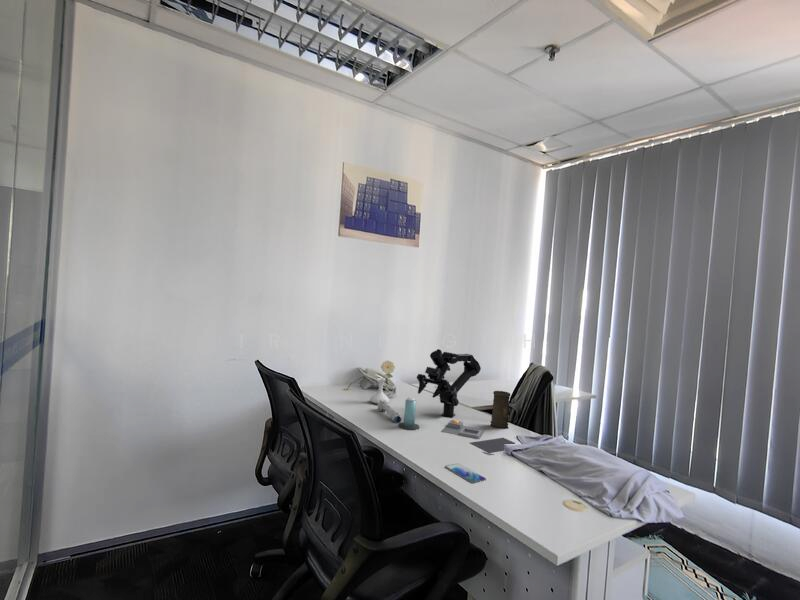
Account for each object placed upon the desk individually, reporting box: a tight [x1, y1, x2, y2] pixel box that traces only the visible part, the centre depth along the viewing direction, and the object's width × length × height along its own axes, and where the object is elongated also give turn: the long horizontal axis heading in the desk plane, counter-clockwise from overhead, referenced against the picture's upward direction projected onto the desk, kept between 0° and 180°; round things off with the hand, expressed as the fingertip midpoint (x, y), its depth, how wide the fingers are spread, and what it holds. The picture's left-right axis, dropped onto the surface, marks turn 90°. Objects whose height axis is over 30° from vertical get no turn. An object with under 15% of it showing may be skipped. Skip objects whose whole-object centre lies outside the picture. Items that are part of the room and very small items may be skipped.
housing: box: [440, 419, 486, 440], centre depth 198 cm, size 16×18×3 cm
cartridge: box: [403, 397, 417, 427], centre depth 200 cm, size 5×5×13 cm
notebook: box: [469, 437, 516, 456], centre depth 182 cm, size 13×2×21 cm
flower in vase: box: [369, 359, 396, 405], centre depth 241 cm, size 13×11×25 cm
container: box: [489, 390, 511, 430], centre depth 210 cm, size 9×9×18 cm
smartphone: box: [444, 463, 487, 484], centre depth 151 cm, size 7×1×15 cm
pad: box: [398, 421, 420, 431], centre depth 200 cm, size 10×10×1 cm
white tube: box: [377, 399, 402, 424], centre depth 216 cm, size 5×7×25 cm
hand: (425, 395), depth 210 cm, fingers open, 9 cm apart
